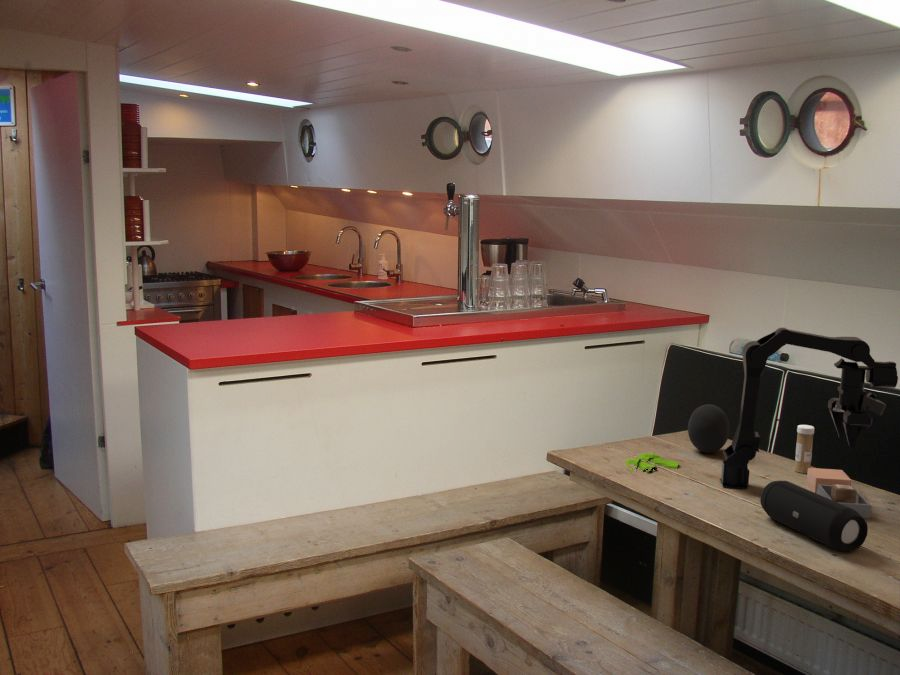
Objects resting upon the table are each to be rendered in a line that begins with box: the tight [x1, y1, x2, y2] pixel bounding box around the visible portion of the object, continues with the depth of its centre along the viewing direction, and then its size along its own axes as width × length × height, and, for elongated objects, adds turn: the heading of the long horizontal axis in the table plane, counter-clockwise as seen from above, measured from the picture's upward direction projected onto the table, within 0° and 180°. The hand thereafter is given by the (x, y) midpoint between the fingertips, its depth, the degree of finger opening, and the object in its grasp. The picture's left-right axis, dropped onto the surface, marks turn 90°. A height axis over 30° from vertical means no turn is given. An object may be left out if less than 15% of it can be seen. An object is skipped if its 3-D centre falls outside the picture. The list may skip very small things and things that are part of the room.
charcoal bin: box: [817, 485, 872, 520], centre depth 229 cm, size 9×14×4 cm, turn 172°
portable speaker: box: [759, 480, 869, 552], centre depth 210 cm, size 26×10×10 cm, turn 22°
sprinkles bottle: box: [794, 424, 815, 474], centre depth 258 cm, size 5×5×14 cm
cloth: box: [625, 452, 680, 475], centre depth 261 cm, size 20×22×2 cm
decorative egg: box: [687, 404, 730, 454], centre depth 275 cm, size 12×12×15 cm
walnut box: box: [831, 484, 858, 504], centre depth 229 cm, size 5×4×6 cm
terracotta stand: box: [805, 467, 853, 494], centre depth 243 cm, size 9×9×4 cm
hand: (846, 442), depth 238 cm, fingers open, 9 cm apart
